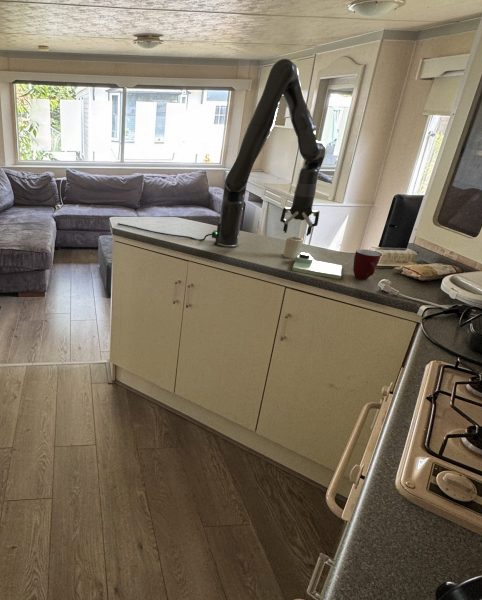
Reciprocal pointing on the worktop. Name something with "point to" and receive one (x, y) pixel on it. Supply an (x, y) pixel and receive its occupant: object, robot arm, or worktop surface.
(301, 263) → the scale
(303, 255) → the tare button
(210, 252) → the worktop surface
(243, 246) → the worktop surface
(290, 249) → the cream cup
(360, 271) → the mug
